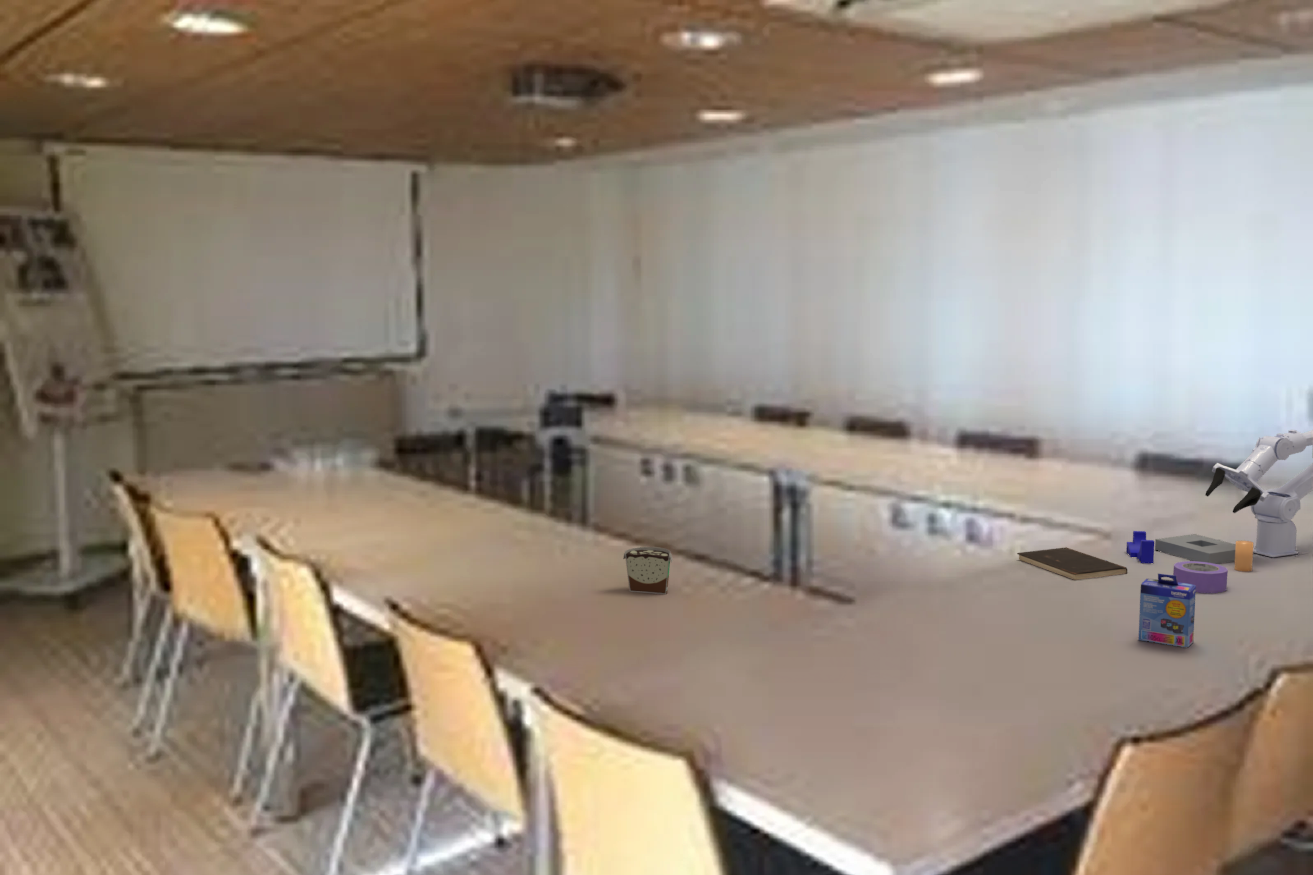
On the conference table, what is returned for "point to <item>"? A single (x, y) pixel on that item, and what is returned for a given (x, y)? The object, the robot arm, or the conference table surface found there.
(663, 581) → the food container
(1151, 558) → the cable clip
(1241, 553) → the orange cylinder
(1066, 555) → the hardcover book
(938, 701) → the conference table surface
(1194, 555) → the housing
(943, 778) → the conference table surface
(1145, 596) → the ink cartridge box
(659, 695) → the conference table surface
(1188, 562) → the tape roll
